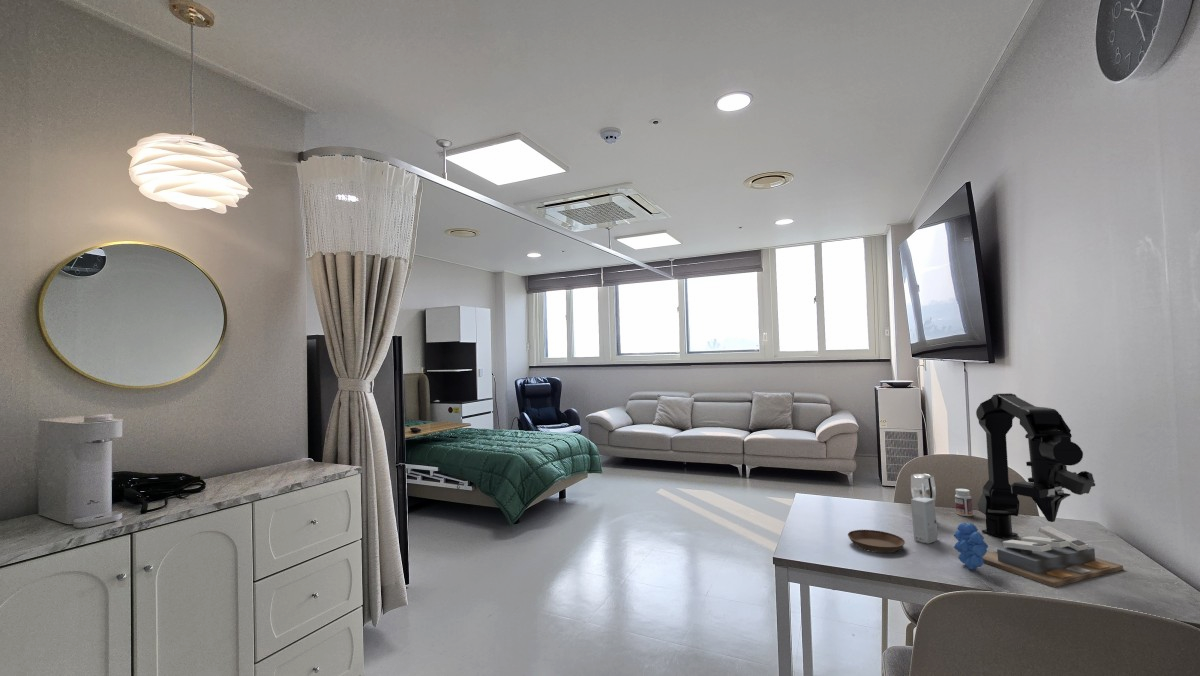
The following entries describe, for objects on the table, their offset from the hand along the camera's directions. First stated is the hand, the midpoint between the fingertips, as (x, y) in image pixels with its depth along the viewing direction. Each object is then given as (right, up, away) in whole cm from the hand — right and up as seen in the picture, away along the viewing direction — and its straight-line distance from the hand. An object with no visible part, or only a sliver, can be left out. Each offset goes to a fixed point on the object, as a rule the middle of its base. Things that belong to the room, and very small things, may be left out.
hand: (1051, 521), depth 125 cm
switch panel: (+3, -13, +4) cm, 14 cm away
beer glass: (-4, -16, +42) cm, 45 cm away
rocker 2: (+9, -7, +7) cm, 13 cm away
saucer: (-32, -16, +21) cm, 42 cm away
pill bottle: (+13, -15, +47) cm, 51 cm away
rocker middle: (+2, -7, +4) cm, 9 cm away
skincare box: (-15, -15, +25) cm, 33 cm away
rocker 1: (-4, -7, +2) cm, 9 cm away
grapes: (-17, -14, +3) cm, 22 cm away
